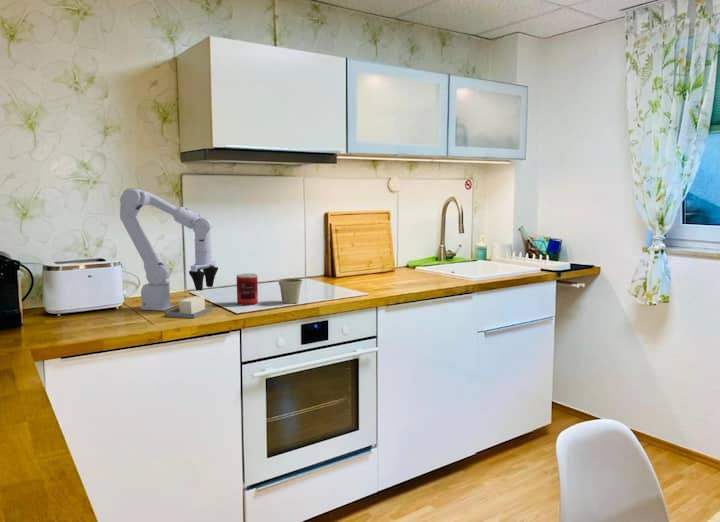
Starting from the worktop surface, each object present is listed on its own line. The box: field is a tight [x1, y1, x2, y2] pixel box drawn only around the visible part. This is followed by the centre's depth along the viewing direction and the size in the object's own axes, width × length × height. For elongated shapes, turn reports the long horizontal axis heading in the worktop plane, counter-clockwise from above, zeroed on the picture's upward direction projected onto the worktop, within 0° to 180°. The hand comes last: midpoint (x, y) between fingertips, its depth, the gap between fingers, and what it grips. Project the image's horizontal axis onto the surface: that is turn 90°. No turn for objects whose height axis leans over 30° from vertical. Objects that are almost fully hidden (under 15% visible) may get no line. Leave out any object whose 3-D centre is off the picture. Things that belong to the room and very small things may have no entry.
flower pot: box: [277, 278, 303, 305], centre depth 213 cm, size 9×9×9 cm
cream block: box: [178, 295, 206, 314], centre depth 195 cm, size 4×4×9 cm
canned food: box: [236, 273, 259, 306], centre depth 210 cm, size 8×8×11 cm
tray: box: [164, 306, 213, 319], centre depth 193 cm, size 11×12×2 cm
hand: (204, 288), depth 203 cm, fingers open, 7 cm apart
